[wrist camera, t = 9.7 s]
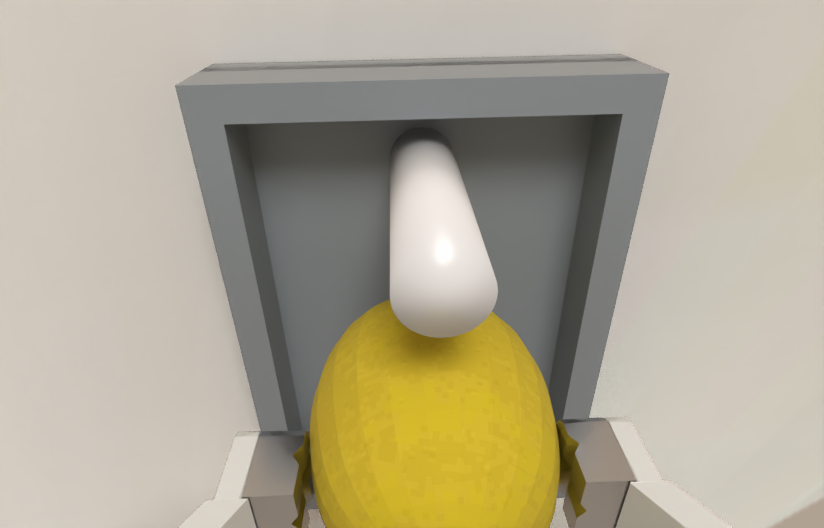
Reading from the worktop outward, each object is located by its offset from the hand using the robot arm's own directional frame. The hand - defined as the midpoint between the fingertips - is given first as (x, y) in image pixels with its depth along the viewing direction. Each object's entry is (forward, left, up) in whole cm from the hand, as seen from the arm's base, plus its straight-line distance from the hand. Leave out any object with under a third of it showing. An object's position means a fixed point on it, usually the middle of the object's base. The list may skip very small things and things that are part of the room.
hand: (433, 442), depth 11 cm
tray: (0, 0, -6) cm, 6 cm away
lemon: (0, 0, -5) cm, 5 cm away
